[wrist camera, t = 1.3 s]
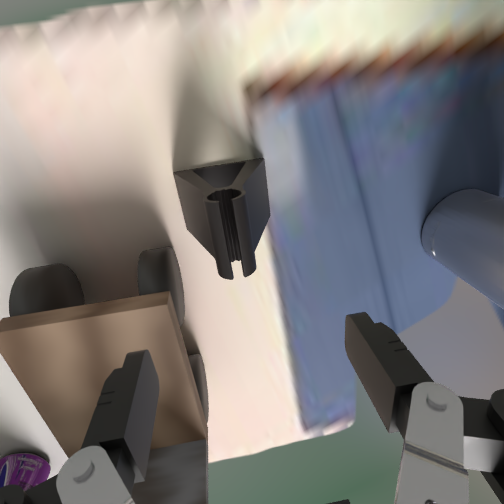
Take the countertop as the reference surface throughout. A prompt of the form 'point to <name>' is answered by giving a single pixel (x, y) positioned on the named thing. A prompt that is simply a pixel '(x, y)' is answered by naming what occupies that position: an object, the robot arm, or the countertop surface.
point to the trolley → (113, 366)
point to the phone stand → (226, 210)
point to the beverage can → (23, 470)
